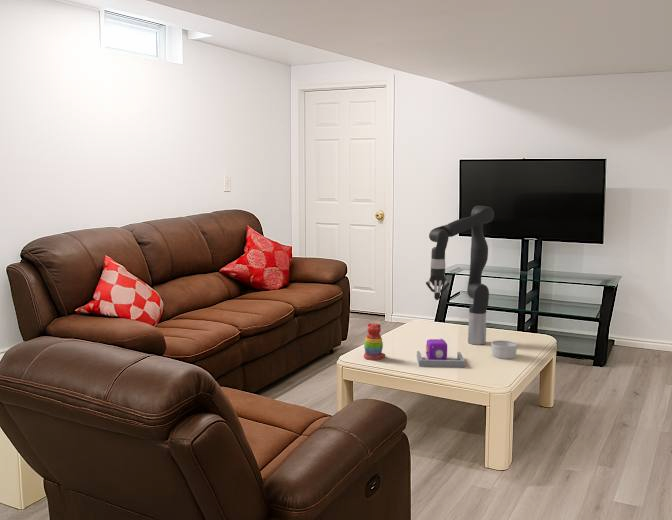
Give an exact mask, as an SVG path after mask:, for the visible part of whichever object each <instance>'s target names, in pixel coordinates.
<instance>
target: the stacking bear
mask: <svg viewBox="0 0 672 520" xmlns="http://www.w3.org/2000/svg"><path fill="white" fill-rule="evenodd" d="M381 327H382V326H381V324H380V323H375V322H373V323H367V333H368V334H367V335H366V337H365V338H364V339H365V340H364V345H363V346H364V347H363V348H364V354H363V358H364V359H365V360H368V361H380V360H383V359H384V358H386V356H387V355H386V354H385V352H383V349H384V347H383V346H384V342H383V338H382V335H381V329H382V328H381Z"/></svg>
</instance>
